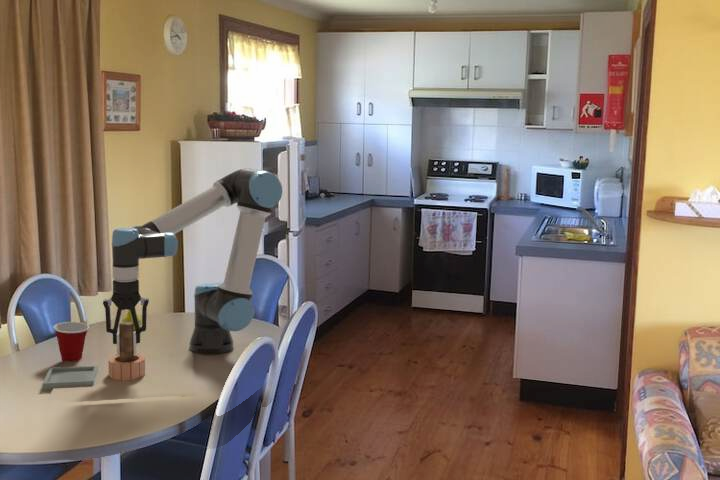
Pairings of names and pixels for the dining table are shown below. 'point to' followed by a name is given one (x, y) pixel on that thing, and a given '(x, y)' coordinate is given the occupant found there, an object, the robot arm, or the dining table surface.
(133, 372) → the pink brick ring
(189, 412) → the dining table surface
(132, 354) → the dowel
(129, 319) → the fruit
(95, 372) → the dish
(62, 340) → the plastic cup
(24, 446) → the dining table surface
